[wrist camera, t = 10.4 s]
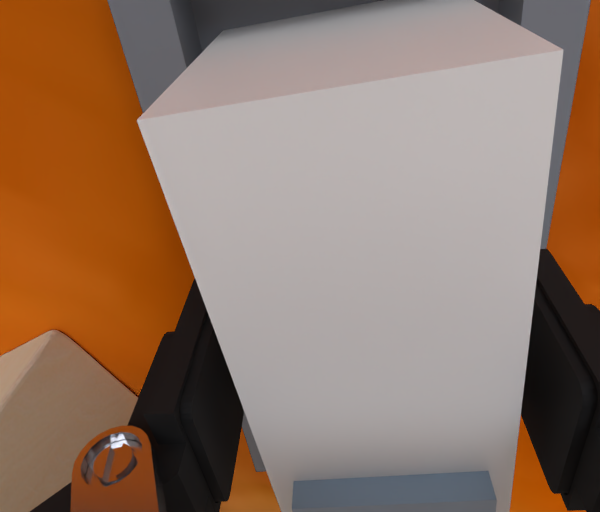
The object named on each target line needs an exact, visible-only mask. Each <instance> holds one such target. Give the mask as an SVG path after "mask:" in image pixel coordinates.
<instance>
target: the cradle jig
mask: <svg viewBox="0 0 600 512" xmlns="http://www.w3.org/2000/svg"><path fill="white" fill-rule="evenodd" d="M377 1H383V0H108V4H109V7H110V10H111V13H112V16H113V19H114V23H115V26H116V29H117V32H118V35H119V38H120V42H121V45H122V48H123V51H124V54H125V57H126V61H127V64H128V67H129V70H130V73H131V77H132V80H133V83H134V86H135V89H136V92H137V96H138V99H139V102H140V105H141V108H142V111H143V113H144V112H145V111H146V110H147V109H148V108H149V107H150V106H151V105H152V104H153V103H154V102H155V101H156V100H157V99H158V98H159V97H160V95H161V94H162V93H163V92H164V91H165V90H166V89H167V88H168V87H169V86H170V85H171V84H172V83H173V82H174V81H175V80H176V79H177V78H178V77H179V76H180V75H181V74H182V73H183V72H184V71H185V70H186V69H187V67H188V66H189V65H190V64H191V63H192V62H193V61H194V60H195V59H196V58H197V57H198V56H199V55H200V54H201V53H202V52H203V51H204V50H205V49H206V48H207V47H208V46H209V45H210V44H211V43H212V42H213V41H214V39H215V38H216V37H217V36H218V35H219V34H220V33H221V32H222V31H223V30H228V29H233V28H239V27H244V26H249V25H255V24H260V23H265V22H271V21H276V20H281V19H287V18H292V17H297V16H303V15H308V14H313V13H319V12H324V11H329V10H335V9H340V8H345V7H351V6H356V5H361V4H367V3H372V2H377ZM474 1H476V2H478V3H480V4H482V5H484V6H485V7H487V8H489V9H491V10H493V11H494V12H496V13H498V14H500V15H502V16H503V17H505V18H507V19H509V20H511V21H513V22H514V23H516V24H518V25H520V26H522V27H523V28H525V29H527V30H529V31H531V32H532V33H534V34H536V35H538V36H540V37H541V38H543V39H545V40H547V41H549V42H551V43H552V44H554V45H556V46H558V47H560V48H561V49H563V59H562V68H561V76H560V85H559V93H558V102H557V110H556V119H555V127H554V136H553V144H552V153H551V161H550V170H549V178H548V187H547V195H546V204H545V212H544V221H543V229H542V238H541V246H540V249H546V246H547V241H548V235H549V230H550V224H551V219H552V213H553V207H554V202H555V196H556V191H557V185H558V180H559V174H560V168H561V163H562V157H563V152H564V146H565V141H566V135H567V129H568V124H569V118H570V113H571V107H572V102H573V96H574V91H575V85H576V79H577V74H578V68H579V63H580V57H581V52H582V46H583V40H584V35H585V29H586V24H587V18H588V13H589V7H590V1H591V0H474ZM242 428H243V432H244V435H245V438H246V441H247V444H248V447H249V451H250V454H251V457H252V460H253V463H254V467H255V470H256V472H263V471H266V469H265V466H264V463H263V461H262V458H261V455H260V453H259V450H258V447H257V444H256V442H255V439H254V436H253V434H252V431H251V428H250V425H249V423H248V420H247V417H246V415H245V412H244V416H243V422H242Z"/></svg>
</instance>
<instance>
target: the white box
mask: <svg viewBox="0 0 600 512" xmlns="http://www.w3.org/2000/svg"><path fill="white" fill-rule="evenodd" d="M562 59H563V49H561V48H560V47H558V46H556V45H554V44H552V43H551V42H549V41H547V40H545V39H543V38H541V37H540V36H538V35H536V34H534V33H532V32H531V31H529V30H527V29H525V28H523V27H522V26H520V25H518V24H516V23H514V22H513V21H511V20H509V19H507V18H505V17H503V16H502V15H500V14H498V13H496V12H494V11H493V10H491V9H489V8H487V7H485V6H484V5H482V4H480V3H478V2H476V1H474V0H383V1H377V2H372V3H367V4H361V5H356V6H351V7H345V8H340V9H335V10H329V11H324V12H319V13H313V14H308V15H303V16H297V17H292V18H287V19H281V20H276V21H271V22H265V23H260V24H255V25H249V26H244V27H239V28H233V29H228V30H223V31H222V32H221V33H220V34H219V35H218V36H217V37H216V38H215V39H214V41H213V42H212V43H211V44H210V45H209V46H208V47H207V48H206V49H205V50H204V51H203V52H202V53H201V54H200V55H199V56H198V57H197V58H196V59H195V60H194V61H193V62H192V63H191V64H190V65H189V66H188V67H187V69H186V70H185V71H184V72H183V73H182V74H181V75H180V76H179V77H178V78H177V79H176V80H175V81H174V82H173V83H172V84H171V85H170V86H169V87H168V88H167V89H166V90H165V91H164V92H163V93H162V94H161V95H160V97H159V98H158V99H157V100H156V101H155V102H154V103H153V104H152V105H151V106H150V107H149V108H148V109H147V110H146V111H145V112H144V113H143V114H142V115H141V116H140V117H139V118H138V119H137V122H138V125H139V128H140V131H141V133H142V136H143V139H144V141H145V144H146V147H147V149H148V152H149V155H150V158H151V160H152V163H153V166H154V168H155V171H156V174H157V177H158V179H159V182H160V185H161V187H162V190H163V193H164V195H165V198H166V201H167V204H168V206H169V209H170V212H171V214H172V217H173V220H174V223H175V225H176V228H177V231H178V233H179V236H180V239H181V241H182V244H183V247H184V250H185V252H186V255H187V258H188V260H189V263H190V266H191V269H192V271H193V274H194V277H195V279H196V282H197V285H198V287H199V290H200V293H201V296H202V298H203V301H204V304H205V306H206V309H207V312H208V315H209V317H210V320H211V323H212V325H213V328H214V331H215V333H216V336H217V339H218V342H219V344H220V347H221V350H222V352H223V355H224V358H225V361H226V363H227V366H228V369H229V371H230V374H231V377H232V379H233V382H234V385H235V388H236V390H237V393H238V396H239V398H240V401H241V404H242V407H243V409H244V412H245V415H246V417H247V420H248V423H249V425H250V428H251V431H252V434H253V436H254V439H255V442H256V444H257V447H258V450H259V453H260V455H261V458H262V461H263V463H264V466H265V469H266V471H267V474H268V477H269V480H270V482H271V485H272V488H273V490H274V493H275V496H276V499H277V501H278V504H279V507H280V509H281V512H509V511H510V502H511V493H512V485H513V476H514V468H515V459H516V451H517V442H518V434H519V425H520V417H521V408H522V400H523V391H524V383H525V374H526V366H527V357H528V349H529V340H530V332H531V323H532V315H533V306H534V298H535V289H536V280H537V272H538V263H539V255H540V246H541V238H542V229H543V221H544V212H545V204H546V195H547V187H548V178H549V170H550V161H551V153H552V144H553V136H554V127H555V119H556V110H557V102H558V93H559V85H560V76H561V68H562Z"/></svg>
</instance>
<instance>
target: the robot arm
mask: <svg viewBox="0 0 600 512" xmlns="http://www.w3.org/2000/svg"><path fill="white" fill-rule="evenodd" d="M243 416H244V409H243V407H242V404H241V401H240V398H239V396H238V393H237V390H236V388H235V385H234V382H233V379H232V377H231V374H230V371H229V369H228V366H227V363H226V361H225V358H224V355H223V352H222V350H221V347H220V344H219V342H218V339H217V336H216V333H215V331H214V328H213V325H212V323H211V320H210V317H209V315H208V312H207V309H206V306H205V304H204V301H203V298H202V296H201V293H200V290H199V287H198V285H197V282H196V279H194V281H193V284H192V287H191V289H190V292H189V295H188V297H187V300H186V303H185V305H184V308H183V311H182V313H181V316H180V319H179V321H178V324H177V327H176V329H175V331H174V332H167V333H166V334H164V336H163V338H162V340H161V342H160V345H159V347H158V350H157V352H156V355H155V357H154V360H153V362H152V365H151V367H150V370H149V372H148V375H147V377H146V380H145V382H144V385H143V387H142V390H141V392H140V395H139V397H138V400H137V402H136V405H135V407H134V410H133V412H132V415H131V417H130V420H129V422H128V425H127V426H118V427H114V428H110V429H108V430H106V431H104V432H102V433H100V434H98V435H97V436H96V437H94V438H93V439H92V440H91V441H89V442H88V443H87V444H86V446H85V447H84V448H83V449H82V450H81V451H80V453H79V455H78V456H77V458H76V460H75V462H74V466H73V471H72V482H70V483H69V484H68V485H66V486H65V487H63V488H62V489H61V490H59V491H58V492H56V493H55V494H54V495H52V496H51V497H49V498H48V499H47V500H45V501H44V502H42V503H41V504H40V505H38V506H37V507H35V508H34V509H32V510H31V511H30V512H219V510H220V504H221V501H227V500H228V499H229V496H230V491H231V485H232V479H233V474H234V468H235V462H236V456H237V451H238V445H239V439H240V433H241V427H242V422H243ZM521 416H522V418H523V421H524V423H525V426H526V428H527V431H528V434H529V436H530V439H531V441H532V444H533V447H534V449H535V452H536V454H537V457H538V459H539V462H540V465H541V467H542V470H543V472H544V475H545V477H546V480H547V483H548V485H549V487H550V489H551V491H552V492H553V493H554V494H556V493H561V496H562V498H563V501H564V503H565V506H566V508H567V510H586V511H587V512H600V311H599V310H598V309H597V307H596V306H594V305H592V304H586V305H585V304H584V303H583V301H582V300H581V298H580V297H579V295H578V294H577V292H576V291H575V289H574V288H573V286H572V285H571V283H570V282H569V280H568V279H567V277H566V276H565V274H564V273H563V271H562V270H561V268H560V267H559V265H558V264H557V262H556V261H555V259H554V258H553V256H552V255H551V253H550V252H549V251H548V250H547V249H540V255H539V263H538V272H537V280H536V289H535V298H534V306H533V315H532V323H531V332H530V340H529V349H528V357H527V366H526V374H525V383H524V391H523V400H522V408H521Z"/></svg>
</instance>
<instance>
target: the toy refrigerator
mask: <svg viewBox="0 0 600 512" xmlns="http://www.w3.org/2000/svg"><path fill="white" fill-rule="evenodd" d="M137 400H138V397H137V396H136V395H134V394H133V393H132V392H131V391H130V390H129V389H128V388H126V387H125V386H124V385H123V384H122V383H121V382H120V381H118V380H117V379H116V378H115V377H114V376H113V375H111V374H110V373H109V372H108V371H107V370H106V369H105V368H103V367H102V366H101V365H100V364H99V363H98V362H97V361H96V360H94V359H93V358H92V357H91V356H90V355H89V354H88V353H87V352H85V351H84V350H83V349H82V348H81V347H80V346H79V345H77V344H76V343H75V342H74V341H73V340H71V339H70V338H69V337H68V336H66V335H65V334H63V333H61V332H59V331H58V330H51V331H48V332H46V333H44V334H42V335H40V336H38V337H36V338H35V339H33V340H31V341H29V342H27V343H25V344H23V345H21V346H19V347H17V348H15V349H14V350H12V351H10V352H8V353H5V354H4V355H2V356H0V512H30V511H31V510H32V509H34V508H35V507H37V506H38V505H40V504H41V503H42V502H44V501H45V500H47V499H48V498H49V497H51V496H52V495H54V494H55V493H56V492H58V491H59V490H61V489H62V488H63V487H65V486H66V485H68V484H69V483H70V482H72V471H73V466H74V462H75V460H76V458H77V456H78V455H79V453H80V451H81V450H82V449H83V448H84V447H85V446H86V444H87V443H88V442H89V441H91V440H92V439H93V438H94V437H96V436H97V435H98V434H100V433H102V432H104V431H106V430H108V429H110V428H114V427H118V426H127V425H128V422H129V420H130V417H131V415H132V412H133V410H134V407H135V405H136V402H137Z"/></svg>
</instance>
